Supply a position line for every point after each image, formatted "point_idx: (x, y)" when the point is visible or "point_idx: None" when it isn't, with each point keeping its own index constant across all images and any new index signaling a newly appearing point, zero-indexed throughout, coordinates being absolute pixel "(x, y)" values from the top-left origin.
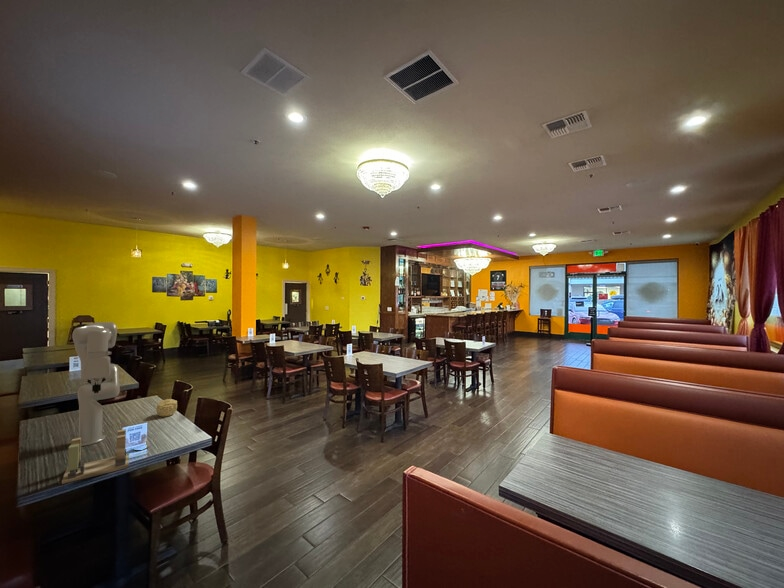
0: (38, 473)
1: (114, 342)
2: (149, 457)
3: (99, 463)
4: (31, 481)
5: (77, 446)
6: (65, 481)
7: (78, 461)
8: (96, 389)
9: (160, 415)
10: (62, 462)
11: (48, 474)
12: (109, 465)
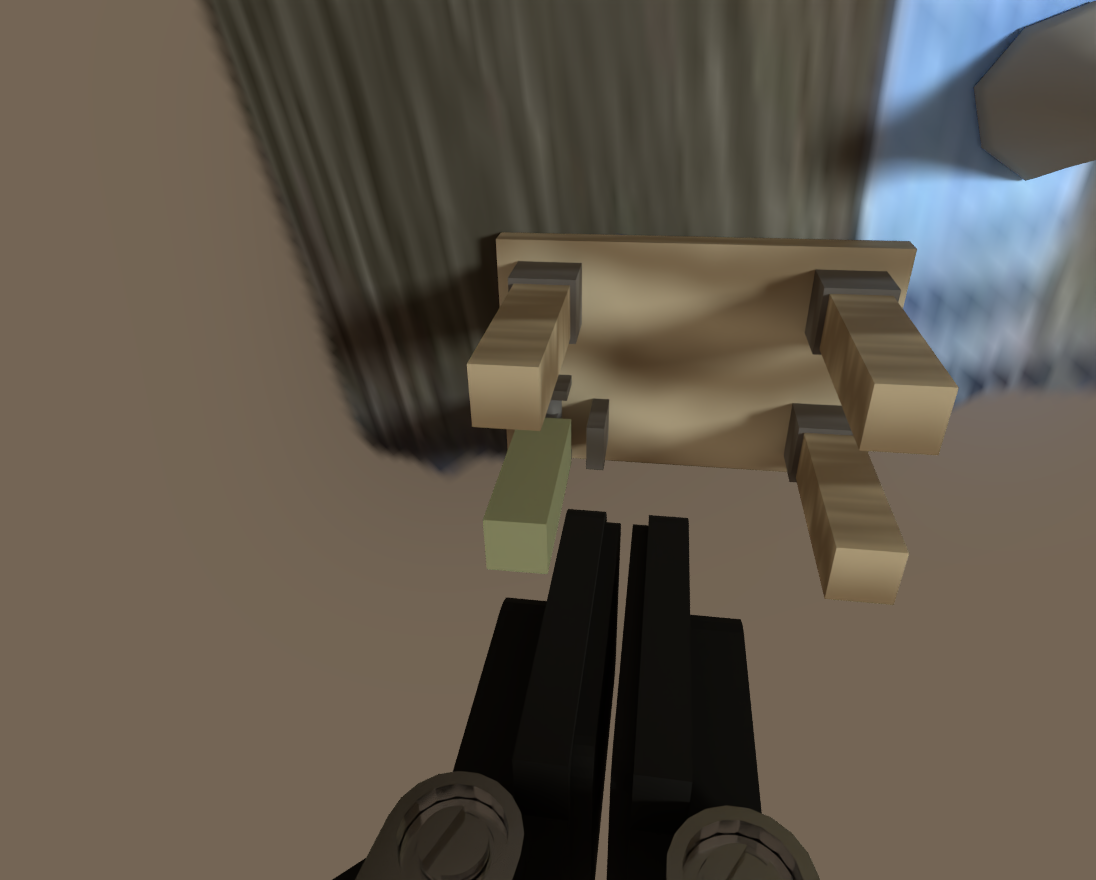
0: (328, 156)
1: None
2: (1026, 382)
3: (695, 322)
4: (335, 282)
5: (542, 572)
6: None
7: (566, 438)
8: (613, 607)
9: None
10: (431, 6)
11: (399, 226)
12: (753, 407)
